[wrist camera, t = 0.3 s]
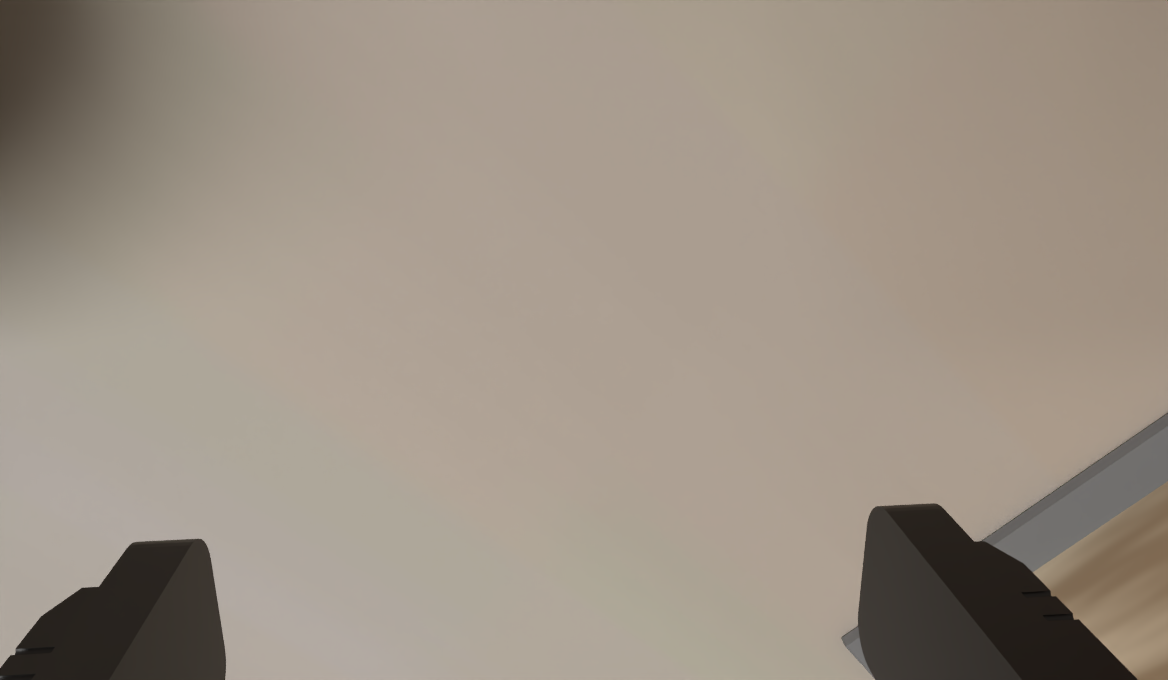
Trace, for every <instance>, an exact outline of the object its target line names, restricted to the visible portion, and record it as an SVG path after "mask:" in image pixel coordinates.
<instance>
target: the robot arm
mask: <svg viewBox="0 0 1168 680" xmlns="http://www.w3.org/2000/svg"><path fill="white" fill-rule="evenodd" d="M858 628H859V637H860V643H861V647H862V651H863V655H864V658H865V661H866V663H867V665H868V667H869V669H870V671H871V673H872V675H873V676H874V678H875V680H1138V679H1137V678H1136V677H1135V676H1134V675H1133V674H1132V673H1131V672H1130V671H1129V670H1128V669H1127V668H1126V667H1125V666H1124V665H1123V664H1122V663H1121V662H1120V661H1119V660H1118V659H1117V658H1116V657H1115V656H1114V655H1113V654H1112V653H1111V652H1110V651H1109V650H1108V649H1107V647H1106V646H1105V645H1104V644H1103V643H1102V642H1101V641H1100V640H1099V639H1098V638H1097V637H1096V636H1095V635H1094V634H1093V633H1092V632H1091V631H1090V630H1089V629H1088V628H1087V627H1086V626H1085V625H1084V624H1083V623H1082V622H1081V621H1080V620H1079V619H1075V620H1074V618H1073V613H1072V612H1071V611H1070V610H1069V609H1068V608H1067V607H1066V606H1065V605H1064V604H1063V603H1062V602H1061V601H1060V600H1059V599H1058V598H1057V597H1056V596H1051V591H1050V590H1049V589H1048V587H1047V586H1046V585H1045V584H1044V583H1043V582H1042V581H1041V580H1040V579H1039V578H1038V577H1037V576H1036V575H1035V574H1034V573H1033V572H1032V571H1031V570H1030V569H1029V568H1028V567H1027V566H1026V565H1025V564H1024V563H1022V562H1020V561H1019V560H1017V559H1015V558H1013V557H1012V556H1010V555H1008V554H1006V553H1005V552H1003V551H1001V550H999V549H998V548H996V547H994V546H992V545H991V544H989V543H987V542H985V541H979V542H974V541H973V540H972V539H971V538H970V537H969V536H968V535H967V533H966V532H965V531H964V530H963V529H962V528H961V527H960V526H959V525H958V524H957V523H956V522H955V521H954V519H953V518H952V517H951V516H950V515H949V514H948V513H947V512H946V511H945V510H944V509H943V508H942V507H941V506H940V505H938V504H914V505H894V506H877V507H875V508H874V509H873V510H872V511H871V513H870V516H869V519H868V524H867V532H866V542H865V551H864V561H863V571H862V581H861V591H860V601H859V611H858ZM225 673H226V656H225V646H224V640H223V634H222V627H221V621H220V615H219V608H218V602H217V596H216V589H215V583H214V577H213V570H212V564H211V558H210V553H209V550H208V547H207V545H206V544H205V542H204V541H203V540H202V539H185V540H165V541H145V542H134V543H132V544H131V545H130V546H129V547H128V548H127V549H126V550H125V552H124V553H123V555H122V556H121V557H120V559H119V560H118V561H117V563H116V564H115V566H114V567H113V568H112V570H111V571H110V572H109V574H108V575H107V577H106V578H105V579H104V581H103V582H102V583H101V585H100V586H99V587H90V588H81V589H80V590H78V591H77V592H75V593H74V594H73V595H71V596H70V597H68V598H67V599H65V600H64V601H63V602H61V603H60V604H58V605H57V606H55V607H54V608H53V609H51V610H50V611H48V612H47V613H45V614H44V615H43V616H41V617H40V619H39V620H38V621H37V622H36V624H35V625H34V626H33V627H32V629H31V630H30V631H29V633H28V634H27V635H26V636H25V638H24V639H23V640H22V641H21V643H20V644H19V645H18V646H17V648H16V653H15V655H10V657H9V658H8V659H7V660H6V662H5V663H4V664H3V665H2V667H1V668H0V680H225Z"/></svg>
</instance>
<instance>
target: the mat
mask: <svg viewBox="0 0 1168 680" xmlns="http://www.w3.org/2000/svg"><path fill="white" fill-rule="evenodd" d="M1167 481H1168V413H1167V414H1166V415H1164V416H1163V417H1162V418H1160V419H1159V420H1157V421H1156V422H1154V423H1153V424H1151V425H1150V426H1148V427H1147V428H1146V429H1144V430H1143V431H1141V432H1140V433H1138V434H1137V435H1135V436H1134V437H1132V438H1131V439H1130V440H1128V441H1127V442H1125V443H1124V444H1122V445H1121V446H1119V447H1118V448H1116V449H1115V450H1114V451H1112V452H1111V453H1109V454H1108V455H1106V456H1105V457H1103V458H1102V459H1100V460H1099V461H1098V462H1096V463H1095V464H1093V465H1092V466H1090V467H1089V468H1087V469H1086V470H1084V471H1083V472H1082V473H1080V474H1079V475H1077V476H1076V477H1074V478H1073V479H1071V480H1070V481H1068V482H1067V483H1066V484H1064V485H1063V486H1061V487H1060V488H1058V489H1057V490H1055V491H1054V492H1052V493H1051V494H1050V495H1048V496H1047V497H1045V498H1044V499H1042V500H1041V501H1039V502H1038V503H1037V504H1035V505H1034V506H1032V507H1031V508H1029V509H1028V510H1026V511H1025V512H1023V513H1022V514H1021V515H1019V516H1018V517H1016V518H1015V519H1013V520H1012V521H1010V522H1009V523H1007V524H1006V525H1005V526H1003V527H1002V528H1000V529H999V530H997V531H996V532H994V533H993V534H991V535H990V536H989V537H987V538H986V539H984V540H983V541H985V542H987V543H989V544H991V545H992V546H994V547H996V548H998V549H999V550H1001V551H1003V552H1005V553H1006V554H1008V555H1010V556H1012V557H1013V558H1015V559H1017V560H1019V561H1020V562H1022V563H1024V564H1025V565H1026V566H1027V567H1028V568H1029V569H1030V570H1031V571H1032V572H1034V571H1035V570H1037V569H1038V568H1040V567H1041V566H1043V565H1044V564H1046V563H1047V562H1049V561H1050V560H1052V559H1053V558H1055V557H1056V556H1058V555H1059V554H1061V553H1062V552H1063V551H1065V550H1066V549H1068V548H1069V547H1071V546H1072V545H1074V544H1075V543H1077V542H1078V541H1080V540H1081V539H1083V538H1084V537H1086V536H1087V535H1089V534H1090V533H1092V532H1093V531H1095V530H1096V529H1098V528H1099V527H1101V526H1102V525H1104V524H1105V523H1107V522H1108V521H1109V520H1111V519H1112V518H1114V517H1115V516H1117V515H1118V514H1120V513H1121V512H1123V511H1124V510H1126V509H1127V508H1129V507H1130V506H1132V505H1133V504H1135V503H1136V502H1138V501H1139V500H1141V499H1142V498H1144V497H1145V496H1147V495H1148V494H1150V493H1151V492H1153V491H1154V490H1155V489H1157V488H1158V487H1160V486H1161V485H1163V484H1164V483H1166V482H1167ZM841 639H842V641H843V643H844V645H845V646H846V648H847V649H848V650H849V651H850V652H851V653H852V654H853V655H854V656H855V658H856V659H857V660H858V661H859V662H860V663H861V664H862V665H863V666H864V667H865V669H866V670H867V671H868V672H869V673H870V674H871V675H872V673H871V671H870V669H869V667H868V665H867V663H866V661H865V658H864V655H863V651H862V647H861V643H860V637H859V628H858V627H856V628H855V629H853V630H852V631H850V632H849V633H848V634H846V635H845V636H843V637H842V638H841ZM872 676H873V675H872ZM873 677H874V676H873Z"/></svg>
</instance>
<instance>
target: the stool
mask: <svg viewBox="0 0 1168 680" xmlns="http://www.w3.org/2000/svg"><path fill="white" fill-rule="evenodd" d="M1033 573H1034V574H1035V575H1036V576H1037V577H1038V578H1039V579H1040V580H1041V581H1042V582H1043V583H1044V584H1045V585H1046V586H1047V587H1048V589H1049V590H1050V591H1051V596H1056V597H1057V598H1058V599H1059V600H1060V601H1061V602H1062V603H1063V604H1064V605H1065V606H1066V607H1067V608H1068V609H1069V610H1070V611H1071V612H1072V613H1073V618H1074V620H1075V619H1079V620H1080V621H1081V622H1082V623H1083V624H1084V625H1085V626H1086V627H1087V628H1088V629H1089V630H1090V631H1091V632H1092V633H1093V634H1094V635H1095V636H1096V637H1097V638H1098V639H1099V640H1100V641H1101V642H1102V643H1103V644H1104V645H1105V646H1106V647H1107V649H1108V650H1109V651H1110V652H1111V653H1112V654H1113V655H1114V656H1115V657H1116V658H1117V659H1118V660H1119V661H1120V662H1121V663H1122V664H1123V665H1124V666H1125V667H1126V668H1127V669H1128V670H1129V671H1130V672H1131V673H1132V674H1133V675H1134V676H1135V677H1136V678H1137V679H1138V680H1168V481H1167V482H1166V483H1164V484H1163V485H1161V486H1160V487H1158V488H1157V489H1155V490H1154V491H1153V492H1151V493H1150V494H1148V495H1147V496H1145V497H1144V498H1142V499H1141V500H1139V501H1138V502H1136V503H1135V504H1133V505H1132V506H1130V507H1129V508H1127V509H1126V510H1124V511H1123V512H1121V513H1120V514H1118V515H1117V516H1115V517H1114V518H1112V519H1111V520H1109V521H1108V522H1107V523H1105V524H1104V525H1102V526H1101V527H1099V528H1098V529H1096V530H1095V531H1093V532H1092V533H1090V534H1089V535H1087V536H1086V537H1084V538H1083V539H1081V540H1080V541H1078V542H1077V543H1075V544H1074V545H1072V546H1071V547H1069V548H1068V549H1066V550H1065V551H1063V552H1062V553H1061V554H1059V555H1058V556H1056V557H1055V558H1053V559H1052V560H1050V561H1049V562H1047V563H1046V564H1044V565H1043V566H1041V567H1040V568H1038V569H1037V570H1035V571H1034V572H1033Z"/></svg>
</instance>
